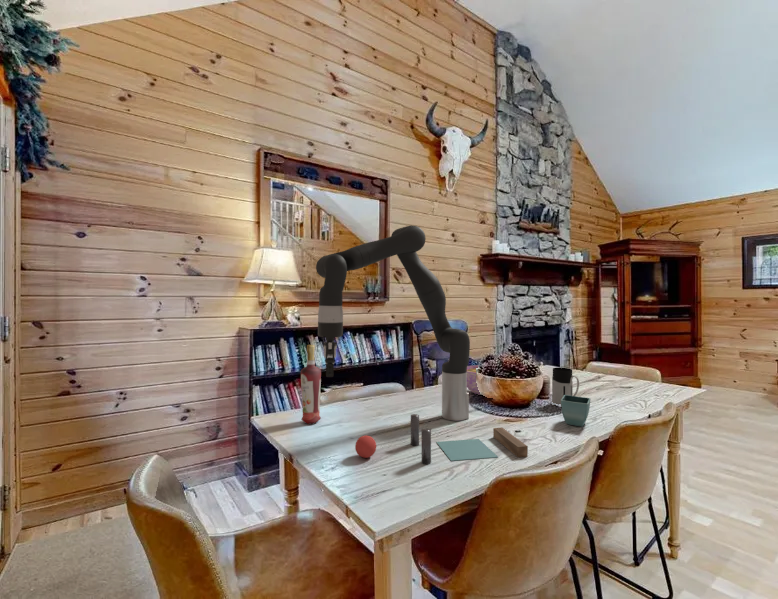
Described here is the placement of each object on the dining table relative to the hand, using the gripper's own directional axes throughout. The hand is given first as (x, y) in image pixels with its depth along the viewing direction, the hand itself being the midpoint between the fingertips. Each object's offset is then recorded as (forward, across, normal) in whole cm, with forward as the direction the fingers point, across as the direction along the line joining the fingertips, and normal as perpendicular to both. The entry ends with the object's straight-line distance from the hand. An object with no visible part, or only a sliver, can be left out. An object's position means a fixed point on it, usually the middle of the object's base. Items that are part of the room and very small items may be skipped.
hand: (329, 374), depth 120 cm
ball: (+19, -9, -10) cm, 24 cm away
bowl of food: (+21, +53, -71) cm, 91 cm away
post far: (+22, -2, -26) cm, 34 cm away
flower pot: (+21, +8, -87) cm, 90 cm away
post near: (+22, -15, -27) cm, 38 cm away
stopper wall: (+21, -8, -54) cm, 59 cm away
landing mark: (+22, -8, -40) cm, 47 cm away
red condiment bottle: (+22, +25, +6) cm, 34 cm away
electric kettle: (+20, +29, -96) cm, 103 cm away
